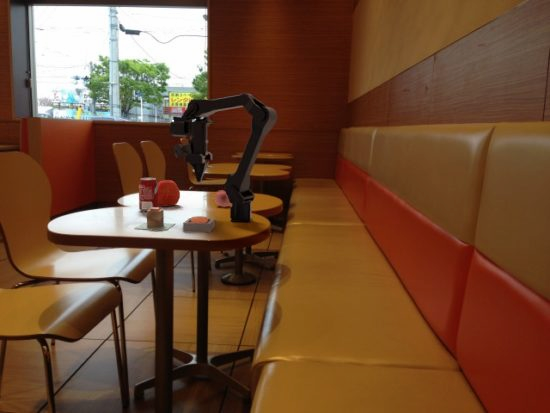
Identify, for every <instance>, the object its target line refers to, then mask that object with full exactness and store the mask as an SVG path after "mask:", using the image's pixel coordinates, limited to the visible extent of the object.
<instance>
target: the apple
mask: <svg viewBox="0 0 550 413" xmlns="http://www.w3.org/2000/svg"><path fill="white" fill-rule="evenodd" d="M157 183H158V207H170V206H171V207H173V206H176V205H177V204H178V203H179V201H180V198H181V192H180V189H179V187H178V186H177V185H178V184H176V182H175V181H173V180H171V179H169V180H168V179H165V180H160V181H159V182H157Z"/></svg>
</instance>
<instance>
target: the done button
mask: <svg viewBox="0 0 550 413" xmlns="http://www.w3.org/2000/svg"><path fill="white" fill-rule="evenodd" d="M190 218H191V223H208V219H209V218H208V217H207V216H203V215H201V216H199V215H196V216H191V217H190Z"/></svg>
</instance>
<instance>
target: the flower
mask: <svg viewBox="0 0 550 413" xmlns="http://www.w3.org/2000/svg"><path fill="white" fill-rule="evenodd" d="M213 198H214V201H215V204H217V206H220V207H221V208H222V207H223V208H226V207H229V206H232V203H230V202H229V199H228V196H227V194H226V192H225V190H223V189H221V190H219V189H218V191H216V193H214V196H213Z"/></svg>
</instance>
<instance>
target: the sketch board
mask: <svg viewBox="0 0 550 413" xmlns="http://www.w3.org/2000/svg"><path fill="white" fill-rule="evenodd" d="M173 225H174V226H175V225H176V223H170V222H169V223H168V222H167V223H165V222H164V225H163V226H161V227H147V222H143V223H141V224H139V225H138V226H135V227H134V228H133V229H134V230H148V229H152V230H154V231H155V230H156V231H168V230H169V228H170V229H171V228H172V227H174V226H173ZM152 230H151V231H152Z"/></svg>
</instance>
